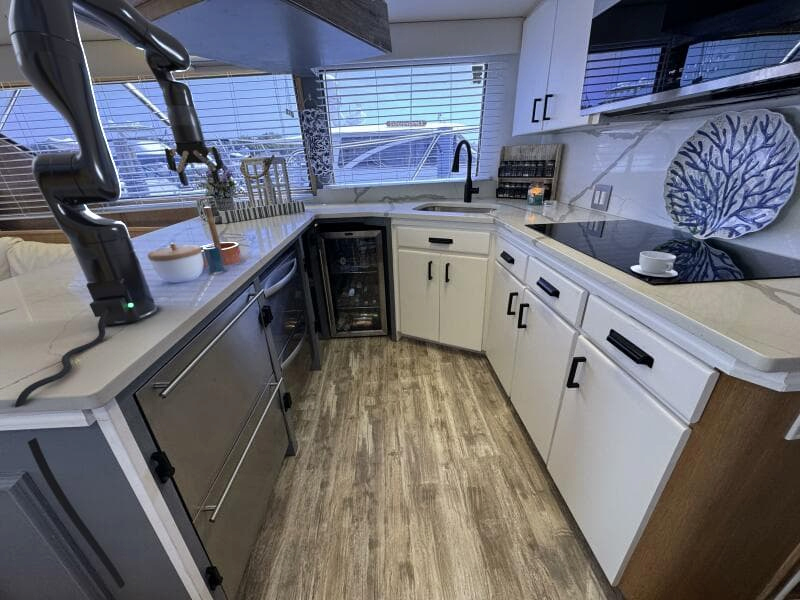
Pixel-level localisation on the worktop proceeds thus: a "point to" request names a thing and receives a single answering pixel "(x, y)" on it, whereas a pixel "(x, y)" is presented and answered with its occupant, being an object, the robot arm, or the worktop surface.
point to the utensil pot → (213, 258)
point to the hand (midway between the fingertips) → (201, 185)
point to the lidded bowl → (177, 263)
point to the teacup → (655, 264)
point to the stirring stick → (212, 226)
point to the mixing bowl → (226, 253)
